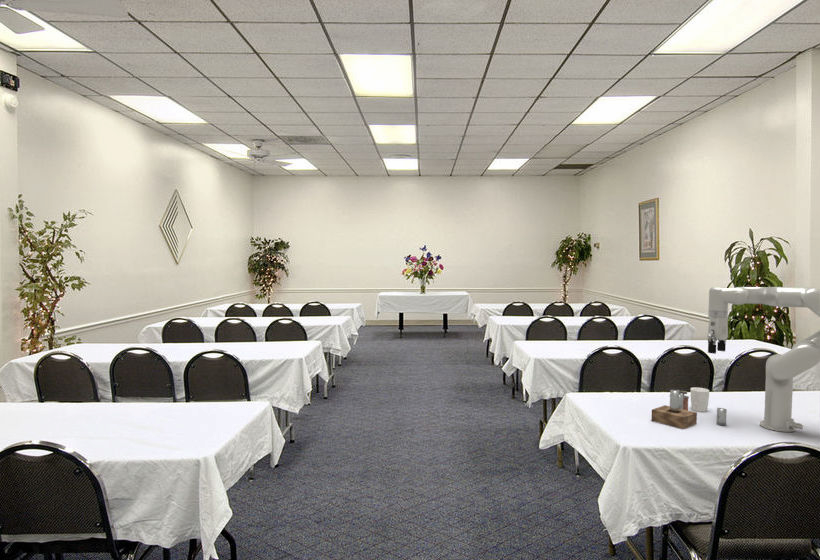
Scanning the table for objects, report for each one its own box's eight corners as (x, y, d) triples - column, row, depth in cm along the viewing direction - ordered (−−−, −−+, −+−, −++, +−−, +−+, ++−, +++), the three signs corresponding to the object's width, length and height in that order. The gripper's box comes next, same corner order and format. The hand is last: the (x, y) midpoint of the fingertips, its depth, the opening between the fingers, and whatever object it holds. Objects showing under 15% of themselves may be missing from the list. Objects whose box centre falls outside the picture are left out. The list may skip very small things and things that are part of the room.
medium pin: (684, 416, 237) (684, 395, 237) (680, 418, 235) (681, 396, 234) (676, 414, 240) (676, 393, 240) (672, 416, 238) (673, 394, 237)
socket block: (696, 423, 227) (696, 412, 227) (683, 429, 219) (684, 417, 219) (664, 416, 238) (665, 405, 238) (651, 420, 231) (651, 409, 230)
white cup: (707, 413, 243) (708, 392, 242) (688, 410, 247) (689, 389, 247) (709, 409, 249) (710, 389, 249) (691, 406, 254) (692, 386, 253)
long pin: (679, 422, 228) (680, 391, 228) (676, 424, 226) (677, 392, 226) (671, 420, 231) (672, 389, 231) (667, 421, 229) (668, 390, 228)
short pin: (727, 425, 226) (727, 409, 225) (724, 426, 223) (724, 410, 223) (718, 423, 228) (718, 407, 228) (715, 424, 226) (715, 408, 226)
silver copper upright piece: (669, 410, 246) (669, 390, 246) (669, 409, 249) (669, 388, 249) (688, 413, 243) (689, 392, 242) (688, 411, 246) (688, 390, 245)
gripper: (718, 316, 225) (717, 355, 226) (735, 314, 236) (733, 351, 236) (700, 314, 231) (699, 352, 232) (717, 312, 242) (715, 349, 242)
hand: (716, 352), depth 234 cm, fingers open, 9 cm apart
